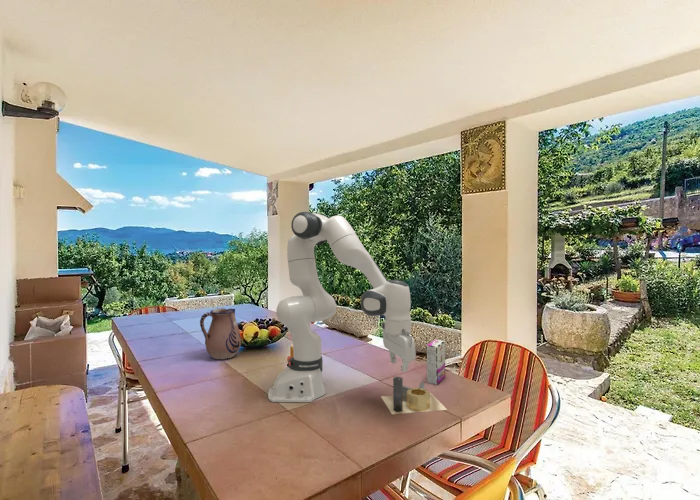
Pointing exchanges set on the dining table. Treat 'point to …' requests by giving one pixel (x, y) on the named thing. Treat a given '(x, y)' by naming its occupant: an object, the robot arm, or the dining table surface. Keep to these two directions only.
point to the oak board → (434, 406)
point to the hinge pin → (398, 394)
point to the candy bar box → (435, 362)
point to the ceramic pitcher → (221, 333)
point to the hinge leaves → (417, 398)
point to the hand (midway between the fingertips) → (398, 366)
